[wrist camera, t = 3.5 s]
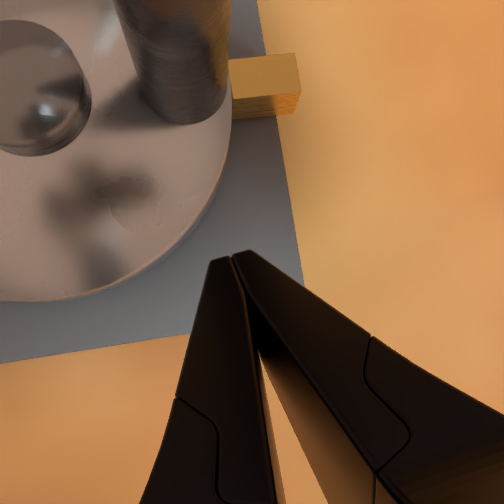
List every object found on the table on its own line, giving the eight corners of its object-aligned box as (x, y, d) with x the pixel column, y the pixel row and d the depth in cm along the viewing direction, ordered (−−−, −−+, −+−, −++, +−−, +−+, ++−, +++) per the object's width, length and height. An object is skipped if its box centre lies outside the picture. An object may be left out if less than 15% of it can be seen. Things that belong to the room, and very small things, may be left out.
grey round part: (318, 263, 14) (592, 138, 4) (-128, 329, 13) (-1453, 405, 3) (263, -59, 16) (359, -798, 5) (-150, -27, 14) (-1114, -915, 4)
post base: (295, 313, 17) (344, 315, 10) (-113, 378, 16) (-343, 426, 9) (237, -37, 18) (250, -222, 12) (-137, -5, 17) (-348, -196, 11)
